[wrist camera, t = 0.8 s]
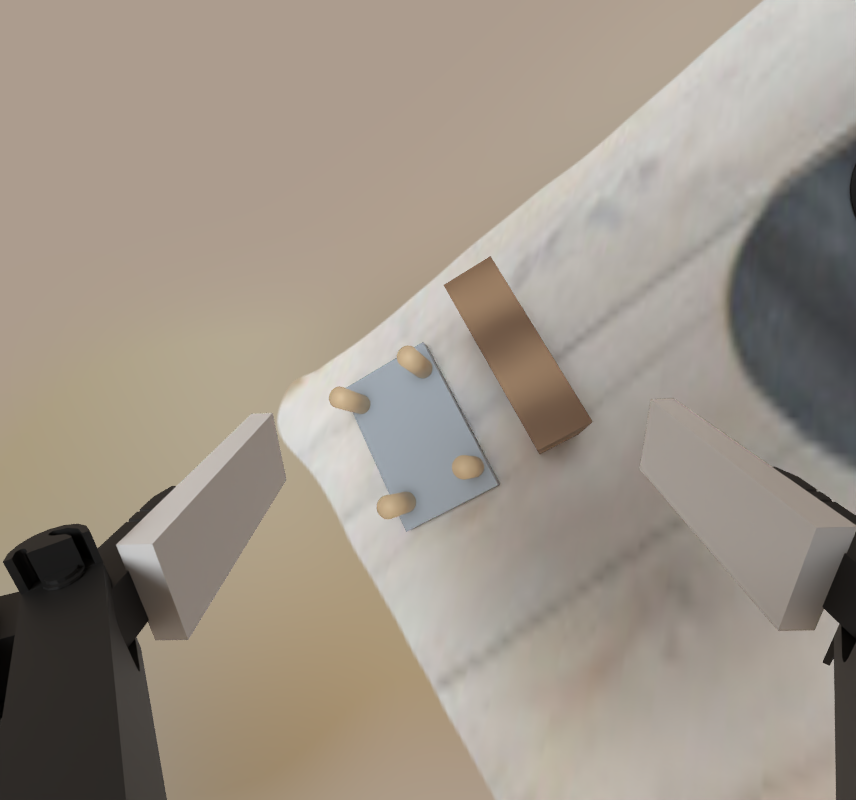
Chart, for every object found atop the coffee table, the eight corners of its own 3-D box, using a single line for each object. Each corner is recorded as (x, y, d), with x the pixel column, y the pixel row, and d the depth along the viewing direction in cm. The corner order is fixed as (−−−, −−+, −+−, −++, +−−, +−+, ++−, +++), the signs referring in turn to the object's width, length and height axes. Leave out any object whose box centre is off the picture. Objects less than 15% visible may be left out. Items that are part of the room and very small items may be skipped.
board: (578, 434, 38) (592, 421, 27) (539, 454, 39) (537, 450, 28) (505, 312, 42) (490, 256, 31) (470, 332, 43) (443, 285, 31)
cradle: (499, 484, 40) (491, 488, 33) (411, 529, 41) (387, 541, 35) (426, 346, 44) (407, 326, 37) (348, 392, 45) (317, 381, 39)
